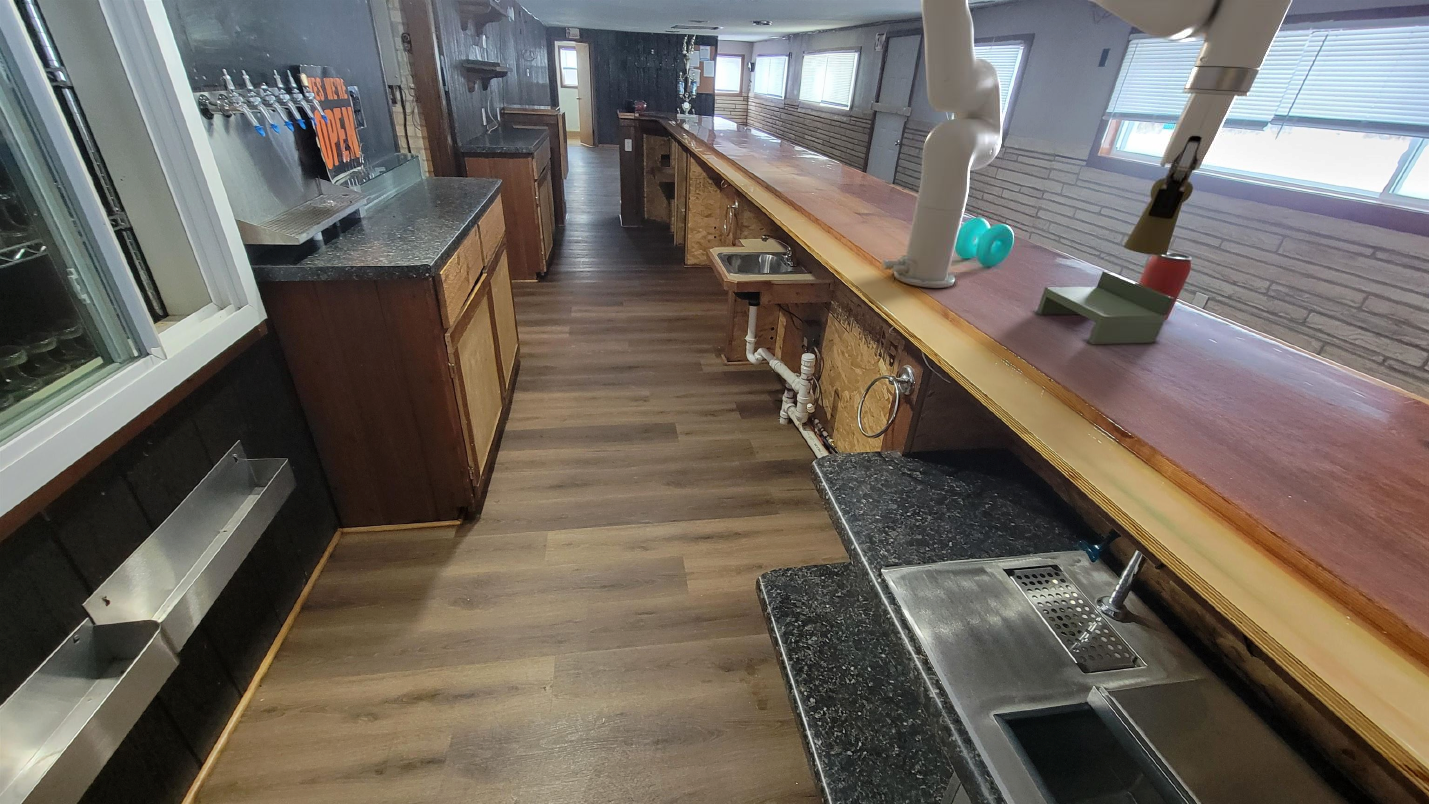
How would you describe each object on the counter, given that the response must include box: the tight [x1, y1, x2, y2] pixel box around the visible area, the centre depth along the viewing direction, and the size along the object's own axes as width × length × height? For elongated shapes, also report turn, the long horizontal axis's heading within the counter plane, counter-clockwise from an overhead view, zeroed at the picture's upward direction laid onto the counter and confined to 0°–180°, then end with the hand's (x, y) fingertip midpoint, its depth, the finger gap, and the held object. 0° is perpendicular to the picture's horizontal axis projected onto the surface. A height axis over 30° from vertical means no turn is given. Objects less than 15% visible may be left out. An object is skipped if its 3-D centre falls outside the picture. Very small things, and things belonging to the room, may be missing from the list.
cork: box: [1123, 177, 1194, 256], centre depth 89 cm, size 6×6×11 cm
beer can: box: [1138, 251, 1193, 322], centre depth 105 cm, size 7×7×12 cm
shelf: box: [1036, 270, 1175, 345], centre depth 101 cm, size 12×15×8 cm
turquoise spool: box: [954, 216, 1015, 268], centre depth 135 cm, size 10×10×10 cm
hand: (1160, 213), depth 89 cm, fingers closed on cork, 5 cm apart
